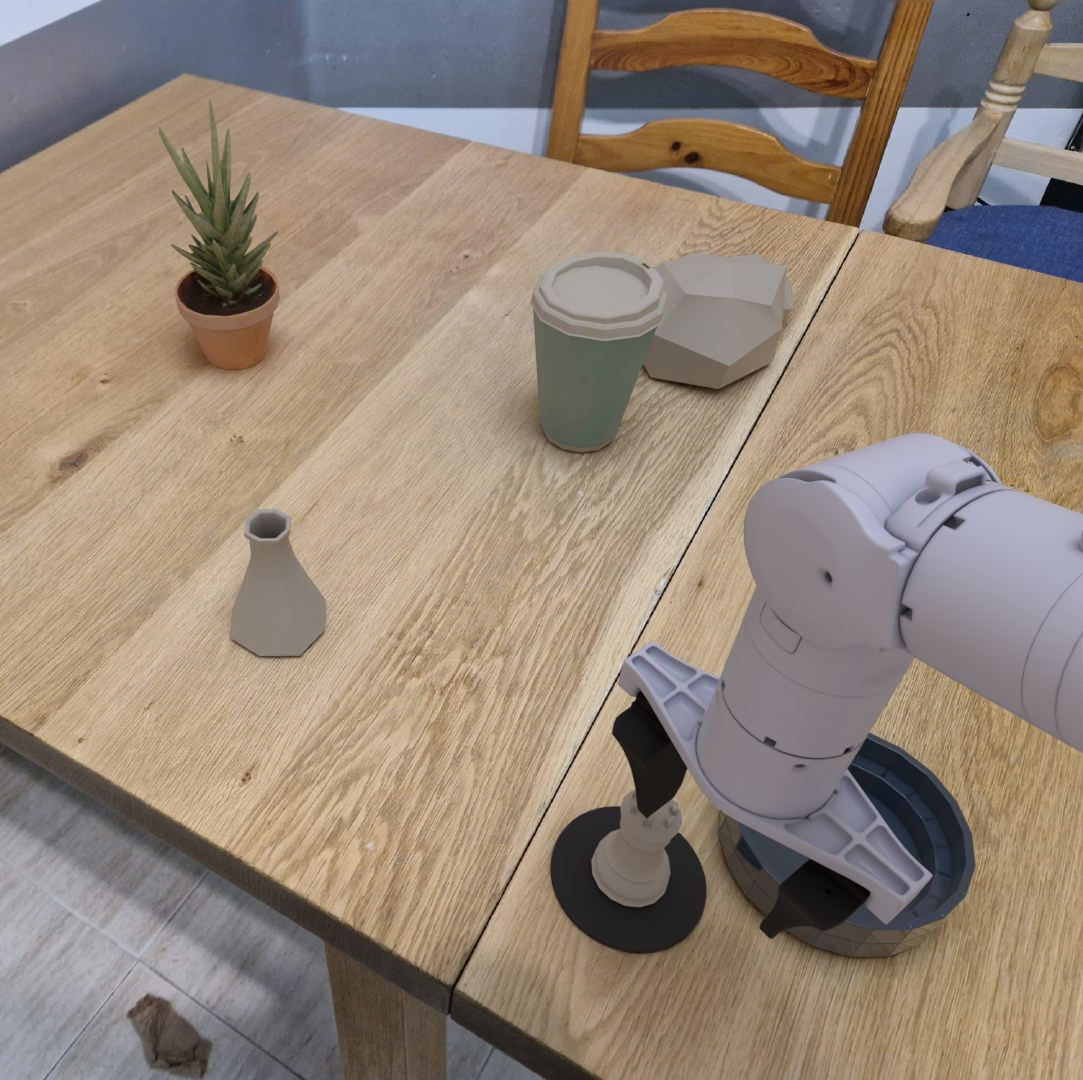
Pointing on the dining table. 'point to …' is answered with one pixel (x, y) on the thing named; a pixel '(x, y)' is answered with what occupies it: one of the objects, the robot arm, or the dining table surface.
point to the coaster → (611, 919)
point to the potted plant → (224, 265)
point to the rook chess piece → (636, 854)
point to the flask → (275, 592)
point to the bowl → (918, 823)
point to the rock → (718, 318)
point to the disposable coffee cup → (592, 343)
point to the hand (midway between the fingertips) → (714, 859)
